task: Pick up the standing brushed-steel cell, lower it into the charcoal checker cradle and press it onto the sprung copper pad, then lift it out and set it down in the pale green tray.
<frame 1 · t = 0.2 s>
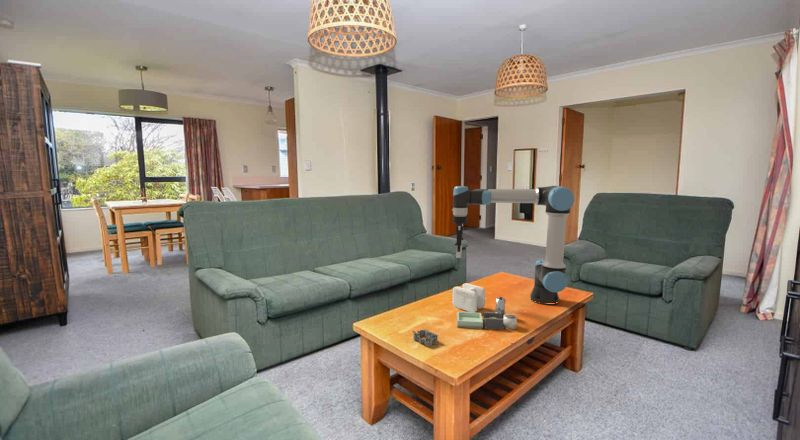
hand: (459, 254, 197), 28 cm above the table, fingers open, 13 cm apart
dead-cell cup: (509, 326, 171), on the table
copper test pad: (493, 319, 173), point 3 cm above the table, slide at -0.1 cm
dark grey lumpy ring: (425, 341, 157), on the table
cable organizer: (468, 308, 194), on the table
steel cell: (499, 316, 183), on the table
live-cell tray: (469, 322, 176), on the table
checker cradle: (493, 325, 173), on the table
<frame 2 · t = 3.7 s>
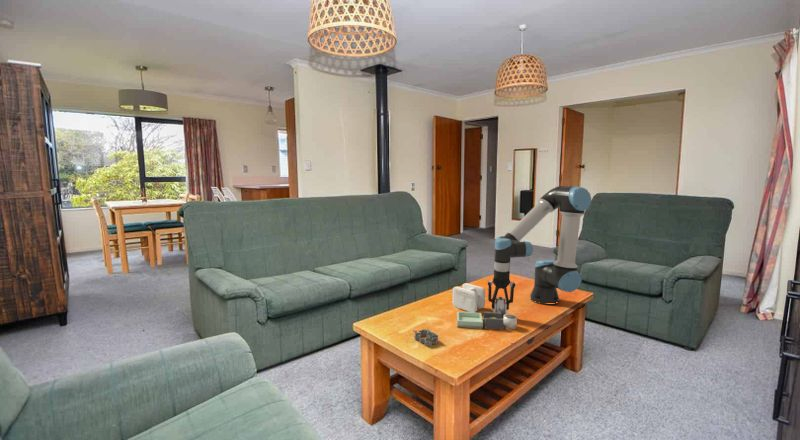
hand: (499, 315, 183), 1 cm above the table, fingers closed on steel cell, 4 cm apart
steel cell: (499, 316, 184), on the table, touching gripper
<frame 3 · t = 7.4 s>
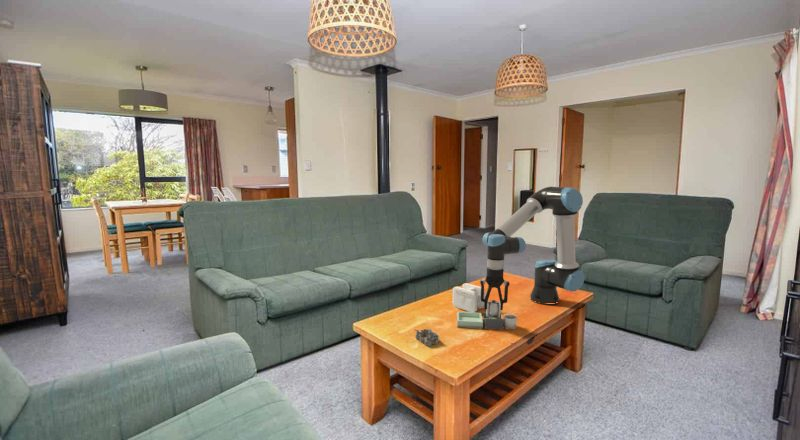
hand: (493, 316, 173), 4 cm above the table, fingers closed on steel cell, 5 cm apart
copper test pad: (493, 321, 173), point 2 cm above the table, slide at -1.5 cm, touching steel cell
steel cell: (492, 320, 173), point 2 cm above the table, touching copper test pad, gripper
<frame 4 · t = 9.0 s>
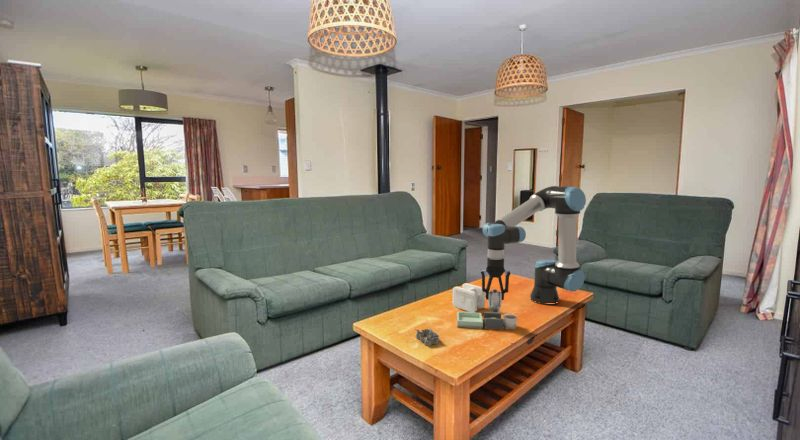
hand: (494, 306, 172), 9 cm above the table, fingers closed on steel cell, 4 cm apart
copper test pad: (493, 319, 173), point 3 cm above the table, slide at -0.4 cm
steel cell: (494, 310, 173), point 7 cm above the table, touching gripper
when the fingers open (3 cm above the table, at t = 12.6 s): steel cell stays where it is, resting on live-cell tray.
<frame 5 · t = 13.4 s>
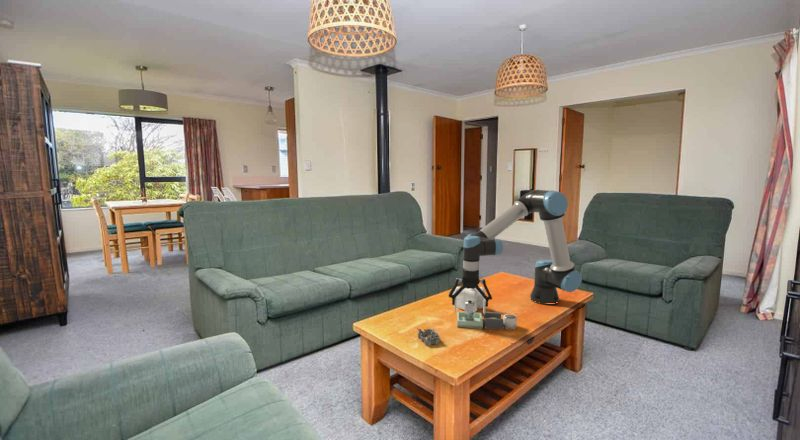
hand: (469, 312, 175), 5 cm above the table, fingers open, 13 cm apart
steel cell: (469, 320, 176), point 1 cm above the table, touching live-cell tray
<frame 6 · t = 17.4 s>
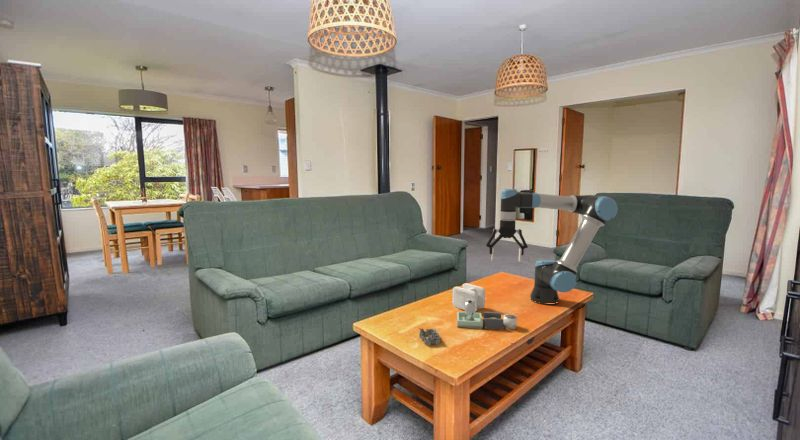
hand: (505, 260, 187), 27 cm above the table, fingers open, 13 cm apart
at the end: steel cell inside the target area on the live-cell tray (0.1 cm from its centre), point 1.0 cm above the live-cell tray's base; the gripper is holding nothing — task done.
